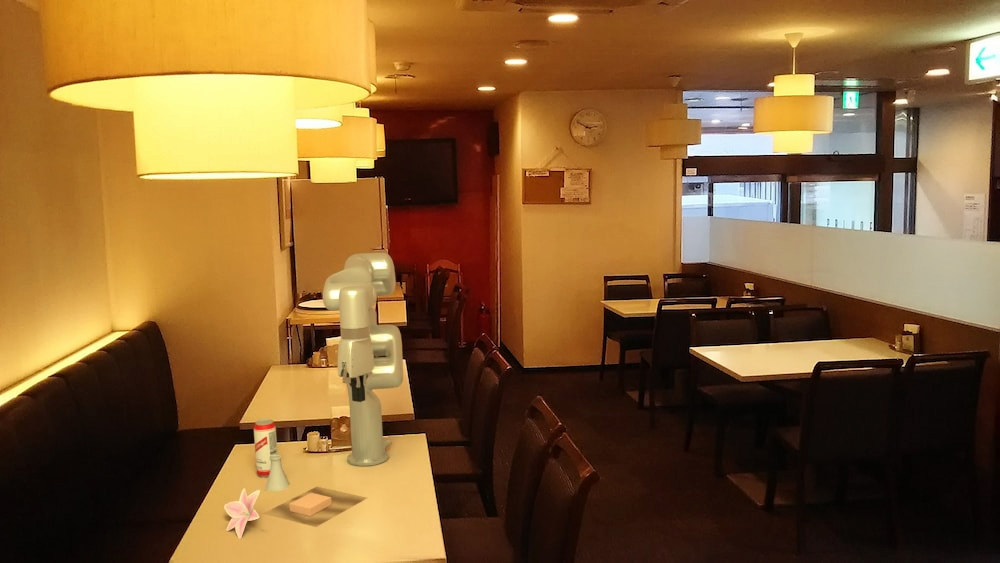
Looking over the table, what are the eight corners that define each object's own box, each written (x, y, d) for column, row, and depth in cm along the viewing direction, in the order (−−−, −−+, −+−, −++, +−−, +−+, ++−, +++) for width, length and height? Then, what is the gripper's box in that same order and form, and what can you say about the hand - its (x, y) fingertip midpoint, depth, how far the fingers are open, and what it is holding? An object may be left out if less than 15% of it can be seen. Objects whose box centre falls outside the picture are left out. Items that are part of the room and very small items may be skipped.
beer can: (268, 479, 238) (265, 426, 235) (252, 476, 240) (248, 423, 238) (283, 472, 243) (279, 419, 241) (266, 469, 246) (263, 417, 244)
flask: (283, 496, 225) (281, 461, 223) (259, 495, 226) (257, 460, 225) (295, 486, 232) (293, 452, 230) (271, 485, 233) (269, 451, 232)
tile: (311, 492, 218) (289, 503, 211) (331, 497, 215) (309, 508, 208) (311, 500, 218) (289, 511, 212) (331, 505, 215) (310, 516, 208)
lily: (226, 524, 210) (210, 500, 205) (269, 499, 214) (254, 475, 208) (237, 555, 201) (220, 531, 196) (281, 529, 204) (266, 505, 199)
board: (317, 490, 228) (316, 486, 228) (367, 502, 219) (367, 497, 219) (263, 517, 211) (263, 513, 211) (316, 531, 202) (315, 526, 202)
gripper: (362, 327, 225) (365, 392, 227) (325, 337, 212) (329, 406, 214) (384, 329, 221) (387, 395, 223) (347, 339, 208) (351, 410, 211)
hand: (358, 400), depth 219 cm, fingers closed
